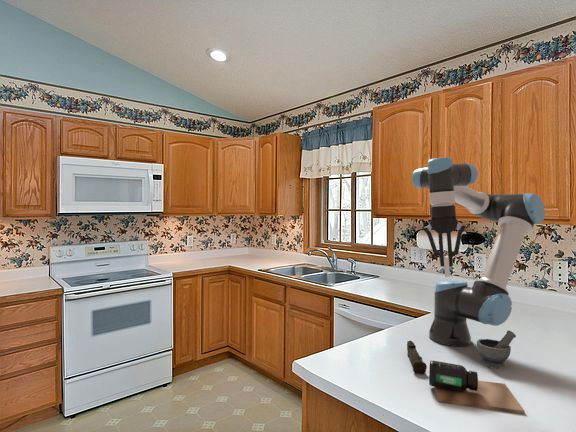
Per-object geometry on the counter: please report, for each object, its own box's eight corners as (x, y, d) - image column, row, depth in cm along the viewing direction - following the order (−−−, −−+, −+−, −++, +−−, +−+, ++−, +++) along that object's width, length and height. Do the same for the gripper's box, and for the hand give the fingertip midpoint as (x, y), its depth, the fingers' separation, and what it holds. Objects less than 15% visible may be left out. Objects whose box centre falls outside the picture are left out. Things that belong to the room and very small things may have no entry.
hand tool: (426, 375, 111) (427, 360, 111) (412, 374, 112) (413, 359, 112) (416, 352, 130) (417, 339, 130) (405, 351, 131) (405, 338, 131)
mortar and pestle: (476, 367, 118) (478, 330, 118) (475, 357, 127) (476, 322, 127) (517, 374, 113) (518, 335, 113) (513, 363, 122) (514, 327, 122)
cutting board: (438, 401, 95) (438, 398, 95) (431, 377, 110) (431, 374, 110) (524, 414, 90) (524, 410, 90) (504, 386, 105) (505, 383, 105)
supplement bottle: (429, 382, 99) (479, 392, 94) (430, 357, 102) (478, 365, 98) (428, 388, 104) (475, 397, 100) (429, 363, 108) (474, 371, 103)
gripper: (463, 203, 120) (468, 273, 121) (421, 206, 125) (426, 274, 126) (465, 203, 113) (470, 278, 114) (420, 207, 118) (426, 278, 119)
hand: (447, 276), depth 120 cm, fingers closed
